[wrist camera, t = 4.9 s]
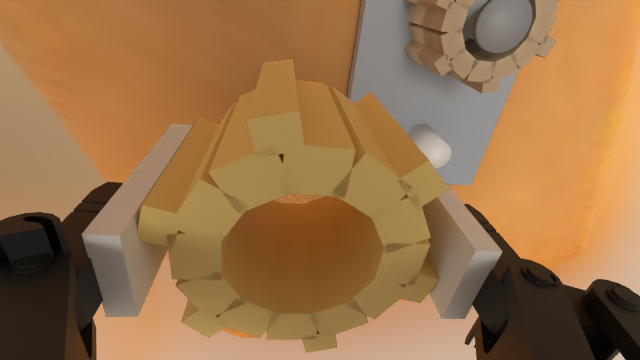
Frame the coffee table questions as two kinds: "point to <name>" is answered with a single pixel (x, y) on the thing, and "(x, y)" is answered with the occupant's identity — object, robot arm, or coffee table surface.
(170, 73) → the coffee table surface
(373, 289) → the ochre gear
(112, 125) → the coffee table surface
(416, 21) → the gear
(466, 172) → the gear board
